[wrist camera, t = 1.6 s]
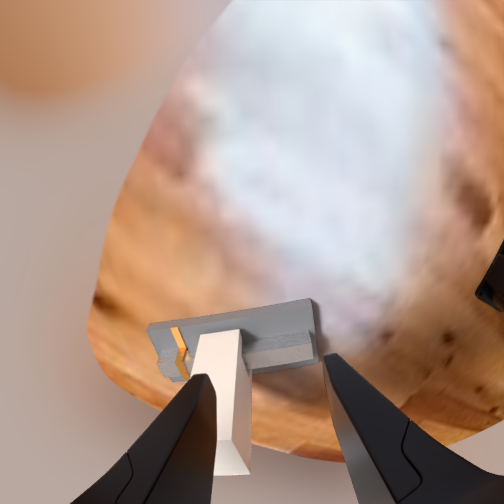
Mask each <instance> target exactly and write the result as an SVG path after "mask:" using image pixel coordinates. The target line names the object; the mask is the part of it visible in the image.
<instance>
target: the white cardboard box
mask: <svg viewBox="0 0 504 504" xmlns="http://www.w3.org/2000/svg"><path fill="white" fill-rule="evenodd" d="M241 353H242V337H241V333H240V330H239V329H237V330H230V331H223V332H216V333H209V334H201V335H200V339H199V343H198V347H197V351H196V355H195V359H194V363H193V368H192V372H191V376H190V378H191V377H192V376H193V375H194V374H200V373H206V374H208V376H209V377H210V380H211V382H212V384H213V386H214V389H215V391H216V396H217V447H216V456H215V465H214V475H244V474H251V422H252V370H251V369H248V370H246V368H245V365H244V362H243V359H242V355H241Z"/></svg>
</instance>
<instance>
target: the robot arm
mask: <svg viewBox="0 0 504 504" xmlns="http://www.w3.org/2000/svg"><path fill="white" fill-rule="evenodd" d="M475 295H476V296H477V297H478V298H479V299H481V300H482V301H484V302H486V303H487V304H489V305H491V306H492V307H494V308H496V309H497V310H499V311H500V312H504V241H503V243H502V245H501V247H500V249H499V251H498V253H497V255H496V257H495V259H494V261H493V262H492V264H491V266H490V268H489V270H488V271H487V273H486V275H485V277H484V278H483V280H482V282H481V284H480V285H479V287H478V289H477V290H476V293H475ZM322 362H323V373H324V381H325V386H326V391H327V396H328V401H329V406H330V411H331V417H332V421H333V425H334V429H335V432H336V435H337V438H338V441H339V444H340V447H341V450H342V453H343V456H344V459H345V462H346V465H347V468H348V471H349V474H350V477H351V481H352V484H353V487H354V490H355V493H356V496H357V499H358V502H359V504H504V476H502V475H496V474H492V473H489V472H487V471H485V470H482V469H480V468H479V467H477V466H476V465H474V464H472V463H471V462H469V461H467V460H466V459H464V458H463V457H461V456H459V455H458V454H456V453H454V452H453V451H451V450H450V449H448V448H447V447H445V446H444V445H442V444H441V443H439V442H438V441H436V440H435V439H434V438H432V437H431V436H430V435H429V434H427V433H426V432H425V431H424V430H422V429H421V428H420V427H419V426H418V425H417V424H416V423H414V422H413V421H412V420H411V421H410V418H409V417H407V416H406V415H405V414H404V413H403V412H402V411H401V410H400V409H398V408H397V407H396V406H395V405H394V404H393V403H392V402H391V401H389V400H388V399H387V398H386V397H385V396H384V395H383V394H382V393H380V392H379V391H378V390H377V389H376V388H375V387H374V386H373V385H372V384H370V383H369V382H368V381H367V380H366V379H365V378H364V377H363V376H362V375H360V374H359V373H358V372H357V371H356V370H355V369H354V368H353V367H352V366H350V365H349V364H348V363H347V362H346V361H345V360H344V359H343V358H342V357H341V356H339V355H338V354H337V353H331V354H326V355H323V357H322ZM409 421H410V422H409ZM216 447H217V396H216V391H215V389H214V386H213V384H212V382H211V380H210V377H209V376H208V374H206V373H200V374H194V375H193V376H192V377H191V378H190V379H189V380H188V381H187V383H186V384H185V385H184V386H183V387H182V388H181V390H180V391H179V392H178V393H177V394H176V396H175V397H174V398H173V399H172V400H171V401H170V403H169V404H168V405H167V406H166V407H165V408H164V410H163V411H162V412H161V413H160V414H159V415H158V416H157V418H156V419H155V420H154V421H153V422H152V423H151V424H150V426H149V427H148V428H147V429H146V430H145V431H144V432H143V434H142V435H141V436H140V437H139V438H138V439H137V440H136V441H135V443H134V444H133V445H132V446H131V447H130V448H129V449H128V451H127V452H128V453H127V452H126V453H125V454H124V455H123V456H122V457H121V458H120V459H119V460H118V461H117V462H116V463H115V464H114V465H113V466H112V468H111V469H110V470H109V471H108V472H107V473H106V474H105V475H103V476H102V477H101V478H100V479H99V480H98V481H97V482H95V483H94V484H93V485H92V486H91V487H90V488H88V489H87V490H86V491H85V492H84V493H82V494H81V495H80V496H79V497H78V498H76V499H75V500H74V501H73V502H71V503H70V504H210V503H211V493H212V484H213V475H214V465H215V456H216Z"/></svg>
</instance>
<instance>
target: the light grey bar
mask: <svg viewBox="0 0 504 504" xmlns="http://www.w3.org/2000/svg"><path fill="white" fill-rule="evenodd" d="M196 351H197V347H195V348H187V347H186V348H179V349H176V350H166V351H161V353H160V356H159V359H158V361H157V365H158V367H159V369H160V371H161V373H162V374H163V376H164V377H180V376H182V378H183V380H186V379H190V376H191V372H192V368H193V363H194V359H195V355H196ZM241 355H242V359H243V362H244V365H245V368H246V370H248V369H256V368H263V367H269V366H276V365H282V364H288V363H293V362H299V361H304V360H309V359H313V352H312V343H311V339H310V335H309V331H308V330H306V331H301V332H295V333H290V334H284V335H279V336H273V337H267V338H261V339H254V340H248V341H242V353H241Z"/></svg>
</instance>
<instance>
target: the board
mask: <svg viewBox="0 0 504 504" xmlns="http://www.w3.org/2000/svg"><path fill="white" fill-rule="evenodd" d="M237 329H239V330H240V333H241V337H242V341H248V340H254V339H261V338H267V337H273V336H279V335H284V334H290V333H295V332H301V331H306V330H308V331H309V335H310V339H311V343H312V352H313V359H309V360H304V361H299V362H293V363H288V364H282V365H276V366H269V367H263V368H256V369H251V370H252V374H259V373H266V372H273V371H279V370H285V369H291V368H296V367H302V366H307V365H312V364H318V353H317V344H316V335H315V327H314V319H313V311H312V304H311V301H310V298H308V299H303V300H297V301H292V302H287V303H281V304H276V305H270V306H265V307H259V308H253V309H247V310H241V311H235V312H229V313H223V314H216V315H209V316H203V317H196V318H189V319H181V320H174V321H166V322H158V323H150V324H149V326H148V328H147V330H146V331H147V333H148V335H149V338H150V340H151V342H152V344H153V346H154V348H155V350H156V352H157V354H158V356H160V353H161V351H166V350H176V349H179V348H186V347H187V348H195V347H198V343H199V339H200V335H201V334H209V333H216V332H223V331H230V330H237ZM170 379H171V381H172V382H182V381H188V380H189V379H186V380H183V378H182V376H180V377H170Z"/></svg>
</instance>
